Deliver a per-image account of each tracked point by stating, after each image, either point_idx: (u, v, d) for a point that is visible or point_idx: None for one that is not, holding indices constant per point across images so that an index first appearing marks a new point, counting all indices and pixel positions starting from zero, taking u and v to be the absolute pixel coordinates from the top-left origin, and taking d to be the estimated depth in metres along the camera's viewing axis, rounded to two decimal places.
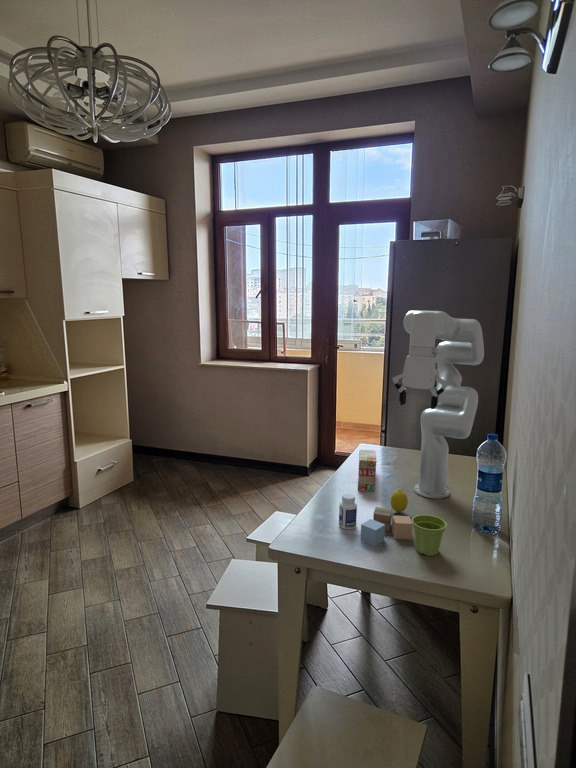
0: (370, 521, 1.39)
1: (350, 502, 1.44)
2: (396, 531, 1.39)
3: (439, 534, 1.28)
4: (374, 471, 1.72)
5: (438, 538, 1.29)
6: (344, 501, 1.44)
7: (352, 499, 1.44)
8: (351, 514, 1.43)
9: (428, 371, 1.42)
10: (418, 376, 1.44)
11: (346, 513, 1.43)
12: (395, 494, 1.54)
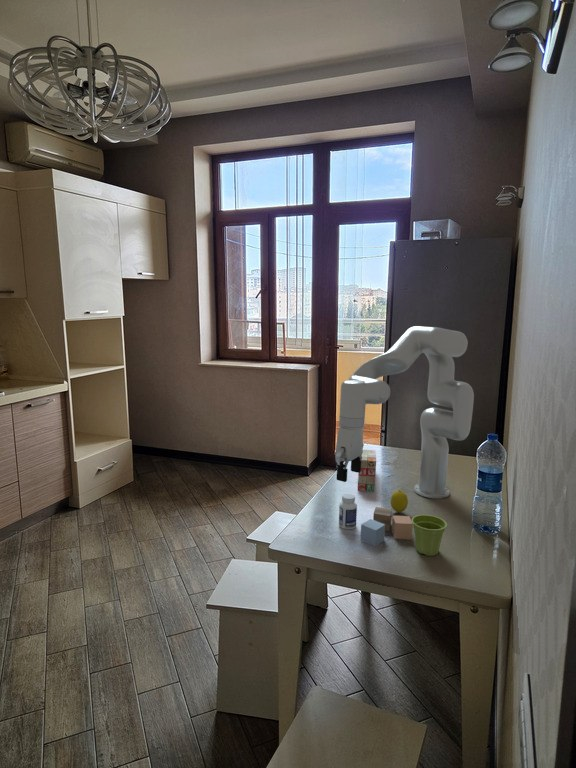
0: (370, 521, 1.39)
1: (350, 502, 1.44)
2: (396, 531, 1.39)
3: (439, 534, 1.28)
4: (374, 471, 1.72)
5: (438, 538, 1.29)
6: (344, 501, 1.44)
7: (352, 499, 1.44)
8: (351, 514, 1.43)
9: (362, 438, 1.43)
10: (358, 446, 1.41)
11: (346, 513, 1.43)
12: (395, 494, 1.54)
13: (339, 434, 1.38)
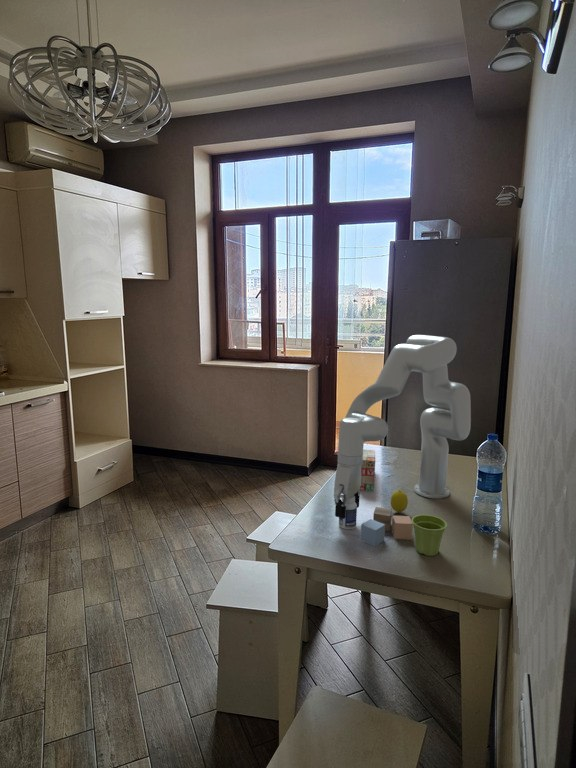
0: (370, 521, 1.39)
1: (350, 502, 1.44)
2: (396, 531, 1.39)
3: (439, 534, 1.28)
4: (373, 471, 1.72)
5: (438, 538, 1.29)
6: None
7: (352, 499, 1.44)
8: (351, 514, 1.43)
9: (360, 474, 1.45)
10: (356, 482, 1.43)
11: (346, 513, 1.43)
12: (395, 494, 1.54)
13: (337, 472, 1.40)
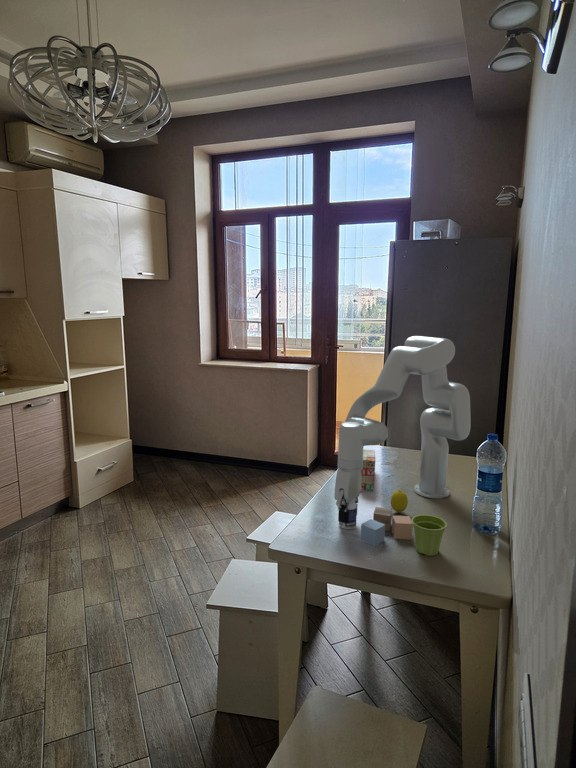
0: (370, 521, 1.39)
1: (350, 502, 1.44)
2: (396, 531, 1.39)
3: (439, 534, 1.28)
4: (373, 470, 1.72)
5: (438, 538, 1.29)
6: None
7: None
8: (351, 514, 1.43)
9: (360, 478, 1.46)
10: (356, 486, 1.43)
11: None
12: (395, 494, 1.54)
13: (338, 476, 1.41)
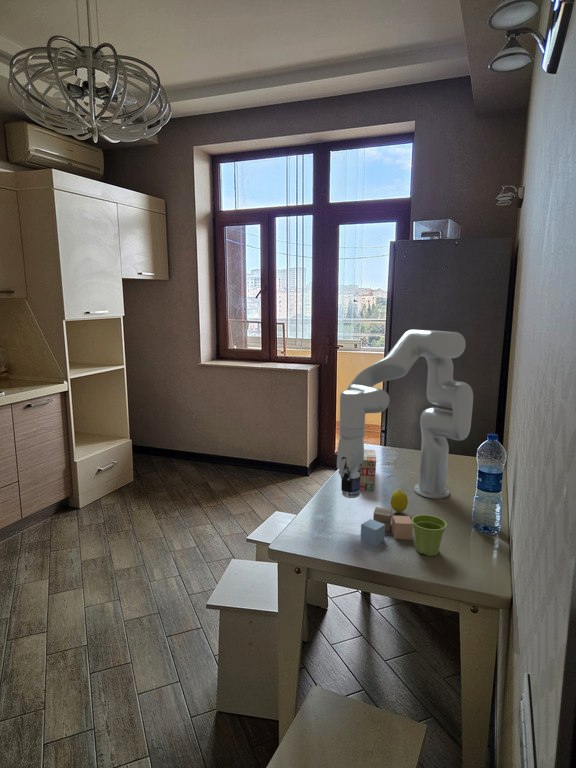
0: (370, 521, 1.39)
1: (353, 471, 1.42)
2: (396, 531, 1.39)
3: (439, 534, 1.28)
4: (374, 470, 1.73)
5: (438, 538, 1.29)
6: None
7: (355, 468, 1.42)
8: (354, 482, 1.42)
9: (363, 447, 1.44)
10: (359, 455, 1.42)
11: None
12: (395, 494, 1.54)
13: (340, 444, 1.39)
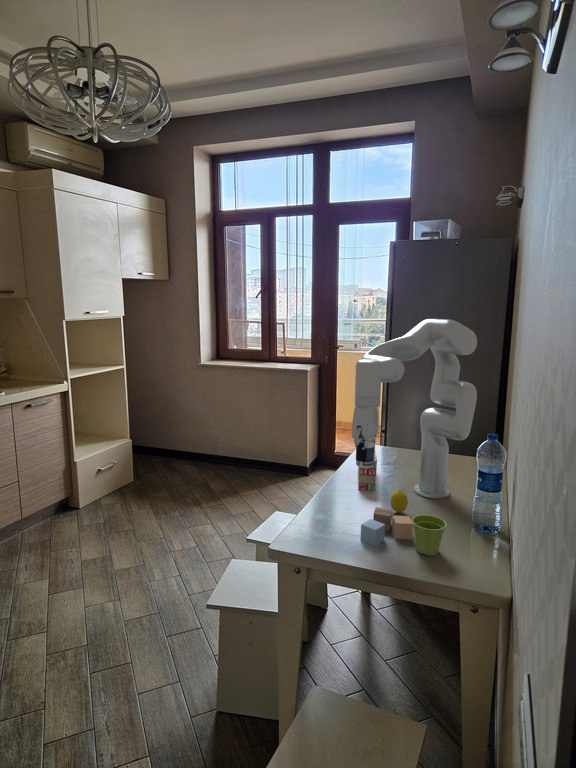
0: (370, 521, 1.39)
1: (368, 440, 1.41)
2: (396, 531, 1.39)
3: (439, 534, 1.28)
4: (375, 470, 1.73)
5: (438, 538, 1.29)
6: None
7: None
8: (369, 452, 1.41)
9: (378, 417, 1.43)
10: (374, 425, 1.41)
11: None
12: (395, 494, 1.54)
13: (355, 413, 1.39)
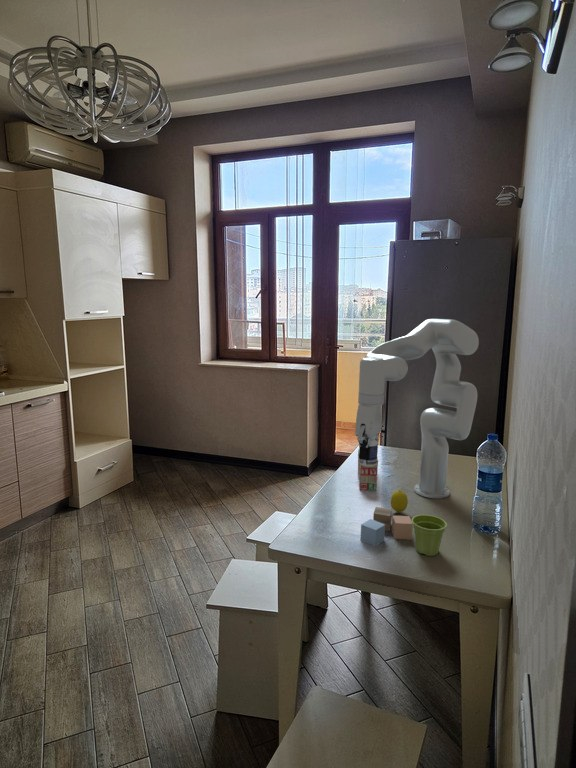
0: (370, 521, 1.39)
1: (371, 439, 1.41)
2: (396, 531, 1.39)
3: (439, 534, 1.28)
4: (376, 470, 1.73)
5: (438, 538, 1.29)
6: None
7: (373, 436, 1.41)
8: (372, 450, 1.41)
9: (381, 415, 1.44)
10: (377, 423, 1.41)
11: None
12: (395, 494, 1.54)
13: (359, 411, 1.39)
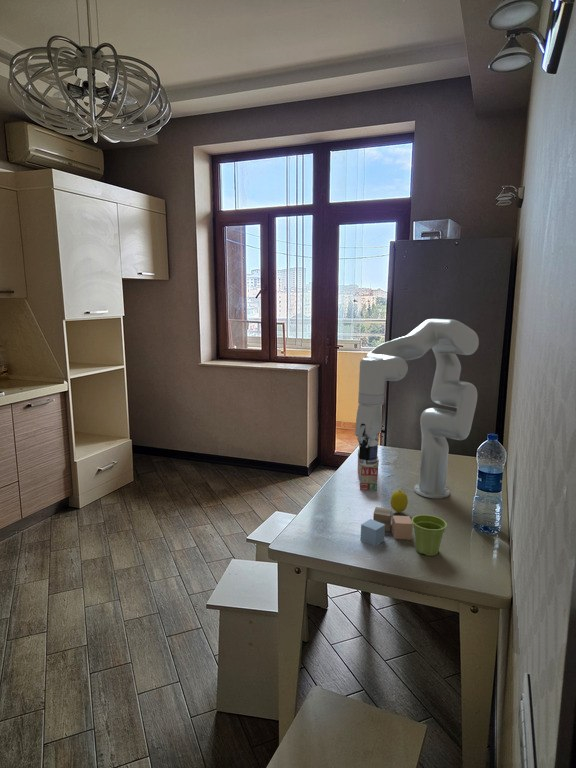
0: (370, 521, 1.39)
1: (371, 439, 1.41)
2: (396, 531, 1.39)
3: (439, 534, 1.28)
4: (377, 470, 1.73)
5: (438, 538, 1.29)
6: None
7: (373, 436, 1.41)
8: (372, 450, 1.41)
9: (381, 415, 1.44)
10: (377, 423, 1.41)
11: None
12: (395, 494, 1.54)
13: (359, 411, 1.39)
